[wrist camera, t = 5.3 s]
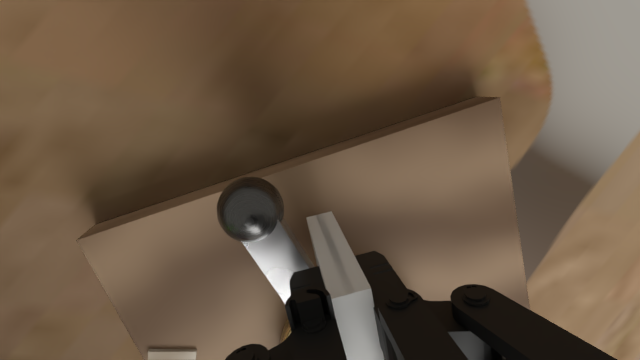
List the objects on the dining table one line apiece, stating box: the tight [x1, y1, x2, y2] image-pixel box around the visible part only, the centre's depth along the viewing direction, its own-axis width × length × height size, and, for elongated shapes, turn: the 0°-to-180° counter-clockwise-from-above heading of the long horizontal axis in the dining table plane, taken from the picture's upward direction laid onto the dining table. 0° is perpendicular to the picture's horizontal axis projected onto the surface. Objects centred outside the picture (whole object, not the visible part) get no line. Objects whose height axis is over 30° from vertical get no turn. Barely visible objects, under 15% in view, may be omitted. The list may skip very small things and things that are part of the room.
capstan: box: [217, 177, 386, 360], centre depth 16 cm, size 16×8×6 cm, turn 29°
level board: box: [76, 97, 530, 360], centre depth 21 cm, size 24×22×2 cm
